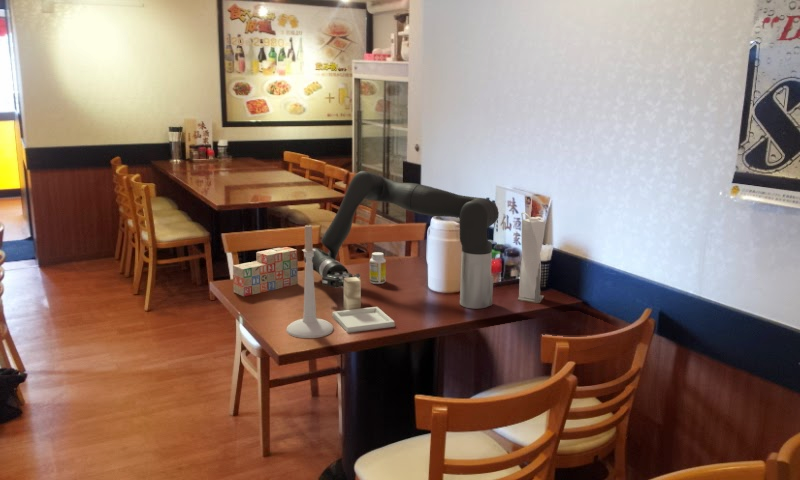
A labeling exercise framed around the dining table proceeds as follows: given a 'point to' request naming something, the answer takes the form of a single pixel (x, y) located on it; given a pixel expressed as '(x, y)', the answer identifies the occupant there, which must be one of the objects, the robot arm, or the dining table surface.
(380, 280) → the supplement bottle
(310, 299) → the candlestick
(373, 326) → the tray
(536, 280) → the skyscraper
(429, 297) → the dining table surface
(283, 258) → the stack of blocks
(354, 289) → the block
